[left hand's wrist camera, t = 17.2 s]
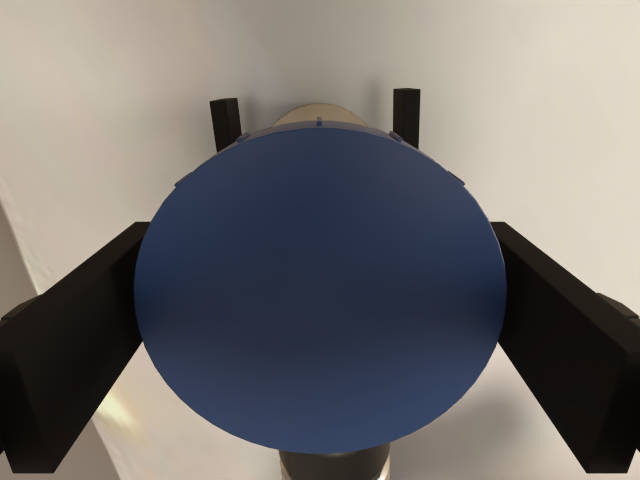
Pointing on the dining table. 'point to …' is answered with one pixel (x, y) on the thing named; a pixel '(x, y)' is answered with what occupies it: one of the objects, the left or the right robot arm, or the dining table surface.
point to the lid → (320, 288)
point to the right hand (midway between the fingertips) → (314, 94)
